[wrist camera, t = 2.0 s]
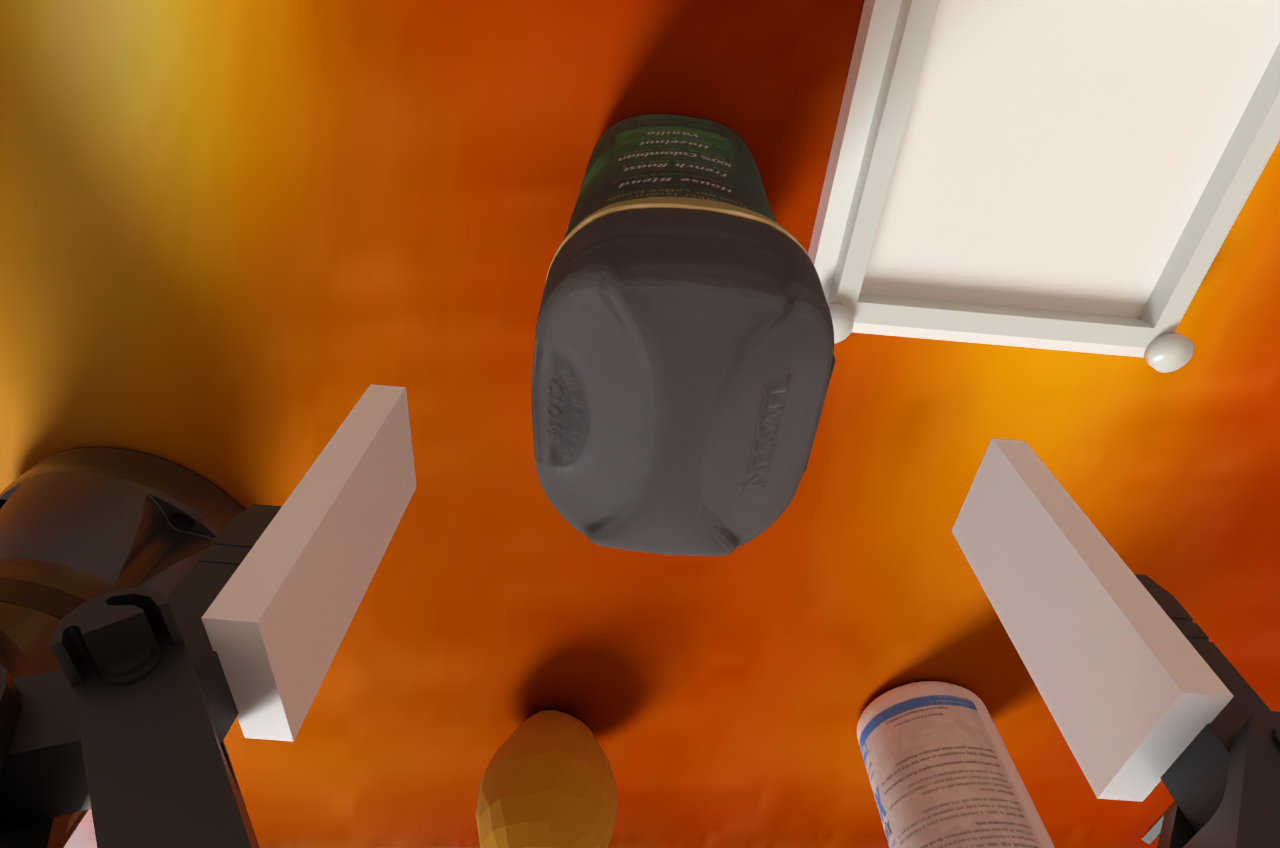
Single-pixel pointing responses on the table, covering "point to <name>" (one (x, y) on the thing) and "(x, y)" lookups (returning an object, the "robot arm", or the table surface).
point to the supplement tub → (944, 772)
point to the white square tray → (1043, 168)
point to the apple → (548, 788)
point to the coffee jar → (677, 346)
